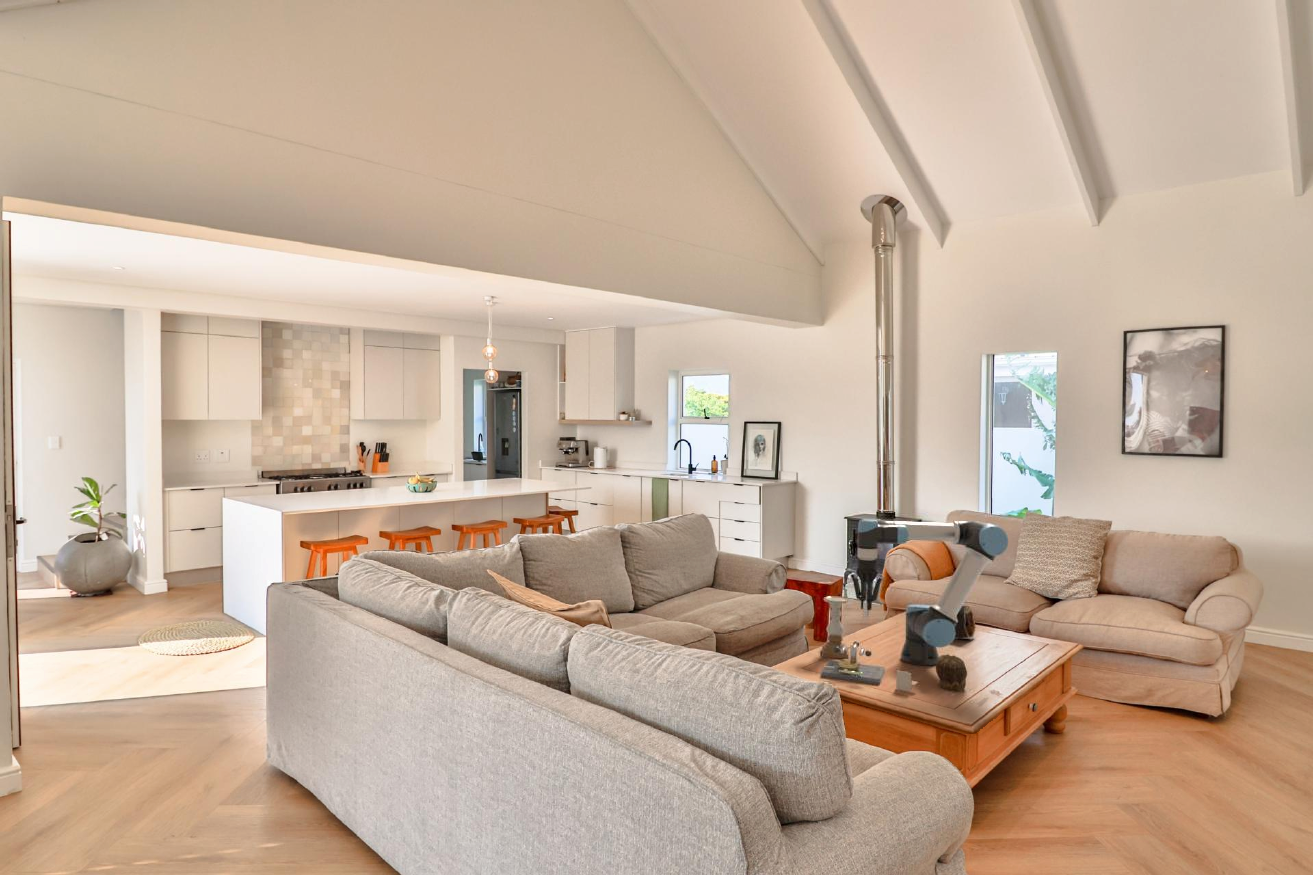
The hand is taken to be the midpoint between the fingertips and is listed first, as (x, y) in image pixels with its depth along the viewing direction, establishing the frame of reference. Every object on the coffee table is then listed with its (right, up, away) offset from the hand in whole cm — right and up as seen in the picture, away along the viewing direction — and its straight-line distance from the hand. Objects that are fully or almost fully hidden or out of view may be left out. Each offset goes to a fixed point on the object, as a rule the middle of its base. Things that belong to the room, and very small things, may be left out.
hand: (866, 617), depth 311 cm
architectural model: (+9, -23, -20) cm, 32 cm away
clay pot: (+51, -21, +55) cm, 78 cm away
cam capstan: (-5, -19, -2) cm, 20 cm away
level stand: (-6, -22, -3) cm, 23 cm away
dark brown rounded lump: (+27, -23, -18) cm, 39 cm away
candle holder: (-7, -21, +23) cm, 32 cm away
